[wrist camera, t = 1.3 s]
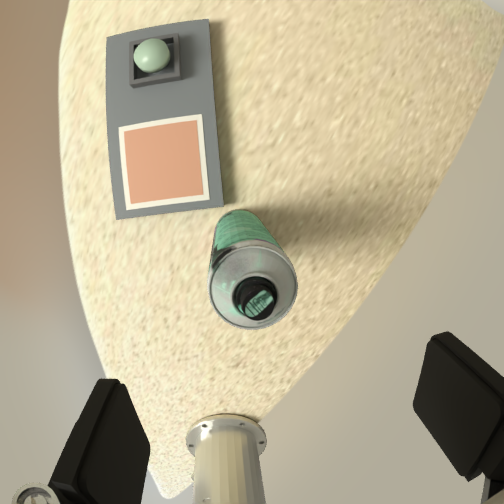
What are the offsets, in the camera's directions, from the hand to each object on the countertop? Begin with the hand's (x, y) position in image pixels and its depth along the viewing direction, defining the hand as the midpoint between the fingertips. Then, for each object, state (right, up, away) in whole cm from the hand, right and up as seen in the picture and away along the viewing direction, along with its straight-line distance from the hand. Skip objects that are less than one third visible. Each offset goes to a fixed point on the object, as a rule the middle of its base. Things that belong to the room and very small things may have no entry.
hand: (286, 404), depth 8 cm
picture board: (-11, +20, +23) cm, 32 cm away
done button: (-11, +25, +19) cm, 33 cm away
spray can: (-2, +7, +27) cm, 28 cm away
